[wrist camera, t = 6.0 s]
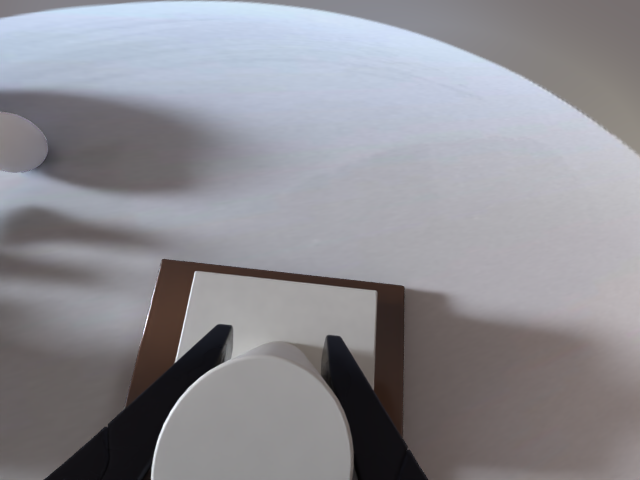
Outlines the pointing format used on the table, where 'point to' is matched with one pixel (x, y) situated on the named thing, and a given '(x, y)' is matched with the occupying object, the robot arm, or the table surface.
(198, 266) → the board
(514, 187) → the table surface
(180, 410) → the white peg on base
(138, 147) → the table surface
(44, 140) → the chess pawn
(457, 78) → the table surface
